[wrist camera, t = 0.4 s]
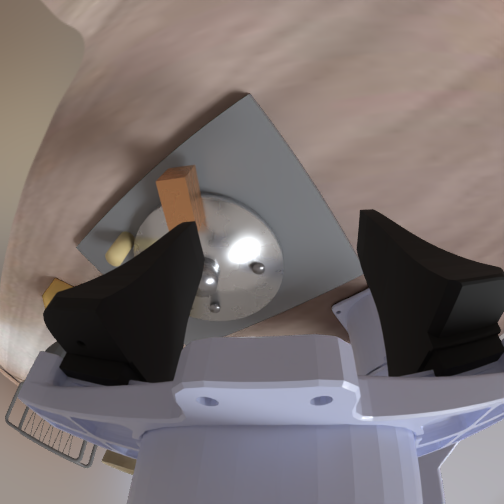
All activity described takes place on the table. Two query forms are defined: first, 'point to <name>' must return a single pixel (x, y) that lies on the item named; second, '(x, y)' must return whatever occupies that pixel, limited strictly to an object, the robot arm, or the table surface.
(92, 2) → the table surface
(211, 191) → the base board
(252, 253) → the flange plate
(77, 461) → the newton's cradle
